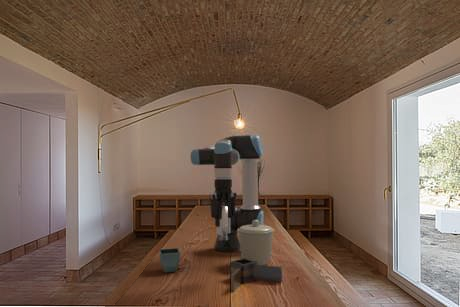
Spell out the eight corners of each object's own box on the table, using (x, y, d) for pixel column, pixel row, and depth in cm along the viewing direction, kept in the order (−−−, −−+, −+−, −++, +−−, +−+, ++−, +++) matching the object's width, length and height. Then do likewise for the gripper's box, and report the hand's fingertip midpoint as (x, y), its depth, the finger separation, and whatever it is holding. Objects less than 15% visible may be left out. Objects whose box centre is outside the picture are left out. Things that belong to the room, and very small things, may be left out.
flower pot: (160, 274, 153) (160, 253, 153) (159, 268, 161) (159, 249, 161) (180, 272, 155) (180, 252, 155) (178, 267, 163) (178, 248, 164)
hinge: (251, 272, 155) (251, 256, 155) (283, 281, 142) (282, 264, 142) (212, 283, 140) (212, 266, 140) (243, 295, 127) (243, 276, 127)
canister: (277, 259, 175) (276, 217, 176) (271, 270, 158) (271, 223, 159) (242, 257, 180) (242, 216, 181) (233, 267, 163) (232, 222, 163)
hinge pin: (224, 238, 151) (223, 205, 151) (230, 239, 148) (229, 206, 148) (216, 239, 148) (216, 206, 149) (222, 240, 145) (222, 207, 146)
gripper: (232, 177, 158) (232, 229, 157) (201, 178, 146) (202, 234, 146) (243, 178, 152) (244, 232, 151) (212, 179, 141) (213, 237, 140)
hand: (223, 233), depth 148 cm, fingers closed on hinge pin, 4 cm apart
